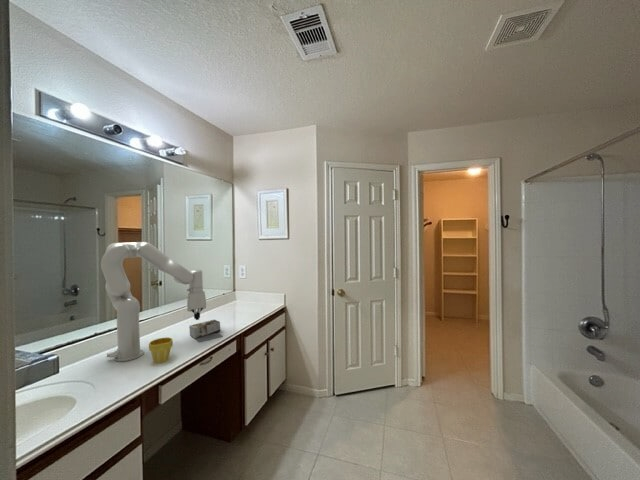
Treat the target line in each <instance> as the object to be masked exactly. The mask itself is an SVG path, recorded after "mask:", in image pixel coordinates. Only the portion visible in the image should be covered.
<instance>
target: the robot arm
mask: <svg viewBox="0 0 640 480" xmlns="http://www.w3.org/2000/svg"><path fill="white" fill-rule="evenodd" d="M127 258H141V259H143V260H144V261H146V262H147V263H148V264H149V265H151V266H153V268H155V269H157V270H159V271H160V272H164V273H165V274H168V275H169V276H171V277H172V278H173V280H174V282H176V283H178V284H182V285H189V287H188V288H187V289H186V292H188V293H187V299H186V300H187V303H186V305H187V306H186V307H187V310H186V311H187V312H188V313H189V312H192V313H193V317H194V320H196V321H200V318H201V312H202V311H203V310H205V309H207V299H206V298H207V297H206V292H205V291H204V289H203V288H204V286H203V285H204V284H203V271H202V270H201V269H191V270H188V268H186V267H185V266H183V265H181V264H180V263H178V262H177V261H175V260H173V259H172V258H171V257H169V256H168V255H167V254H165V253H163V251H161V250H160V249H158V248H157V247H155V246H154V245H153V244H151V243H150V242H148V241H136V242H135V241H134V242H114V243H113V242H112V243H110V244H108V246H107V247H106V249H105V252H104V254H103V255H102V258H101V261H100V266H101V267H100V268H101V271H102V274H103V276H104V279H105V290H106V293H107V296H108V297H109V300H110V302H111V305H112V307H113V308H114V309H115V311H116V330H117V331H116V332H117V333H116V334H117V335H116V337H117V338H116V339H117V349H116V350H114V351H113V352H109V353H106V358H110V359H111V358H114V361H116V362H118V363H119V362H121V363H122V362H128V361H132V360H136V359H138V358H140V357H142V356H143V355H144V354H145V353H144V350H143V349H141V340H140V339H141V338H140V334H141V333H140V310H141V307H140V306H141V305H140V302H139V300H138V299H137V298H136V297H135V296H133V295H132V292H131V282H130V281H129V279H128V277H127V275H126V272H125V268H124V264H123V262H124V259H127Z"/></svg>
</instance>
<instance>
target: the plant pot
mask: <svg viewBox="0 0 640 480" xmlns="http://www.w3.org/2000/svg"><path fill="white" fill-rule="evenodd" d="M173 340H174V339H173V338H172V337H159V338H155V339H153V340H151V341H150V342H149V344H148V350H149V352H150V353H151V357H152V361H153V363H154V364H162V363H165V362H167V361H169V359H170V355H171V350H172V347H173V343H174V341H173Z"/></svg>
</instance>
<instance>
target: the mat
mask: <svg viewBox="0 0 640 480" xmlns="http://www.w3.org/2000/svg"><path fill="white" fill-rule="evenodd" d="M223 337H224V335H222V334H221V333H220V332H216V333H213V334H209V335H205V336H202V337H198V338H194V339H195V341H197V343H204V342H207V341H212V340H215V339H219V338H223Z"/></svg>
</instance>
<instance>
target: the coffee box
mask: <svg viewBox="0 0 640 480" xmlns="http://www.w3.org/2000/svg"><path fill="white" fill-rule="evenodd" d="M188 328H189V336H190V337H192V338H194V339H195V338H198V337H202V336H205V335H209V334H213V333H216V332H219V333H220V332H221V329H222V328H221V321H219V320H216V319H211V320H210V319H209V320H206V321H202V322H199V323H195V324H192V325H189V327H188Z"/></svg>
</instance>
